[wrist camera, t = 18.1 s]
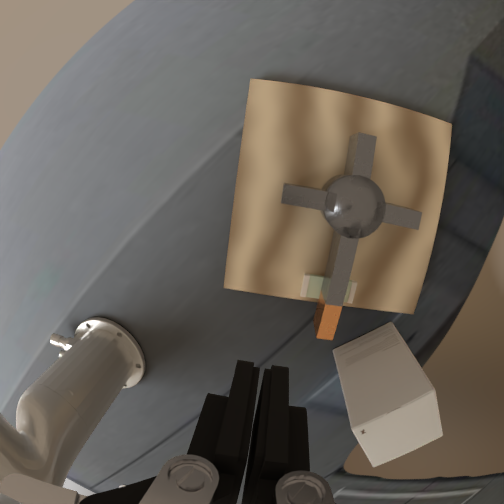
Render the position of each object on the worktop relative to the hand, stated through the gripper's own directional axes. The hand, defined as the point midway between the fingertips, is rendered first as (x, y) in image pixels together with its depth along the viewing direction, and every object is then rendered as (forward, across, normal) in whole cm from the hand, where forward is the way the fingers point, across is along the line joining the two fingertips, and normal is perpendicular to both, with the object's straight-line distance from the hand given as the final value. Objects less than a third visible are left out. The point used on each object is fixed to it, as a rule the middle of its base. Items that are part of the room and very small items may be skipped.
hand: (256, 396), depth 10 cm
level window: (+26, -7, +5) cm, 27 cm away
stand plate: (+27, -7, -5) cm, 28 cm away
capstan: (+25, -7, -2) cm, 26 cm away
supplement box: (+27, -16, +15) cm, 35 cm away
